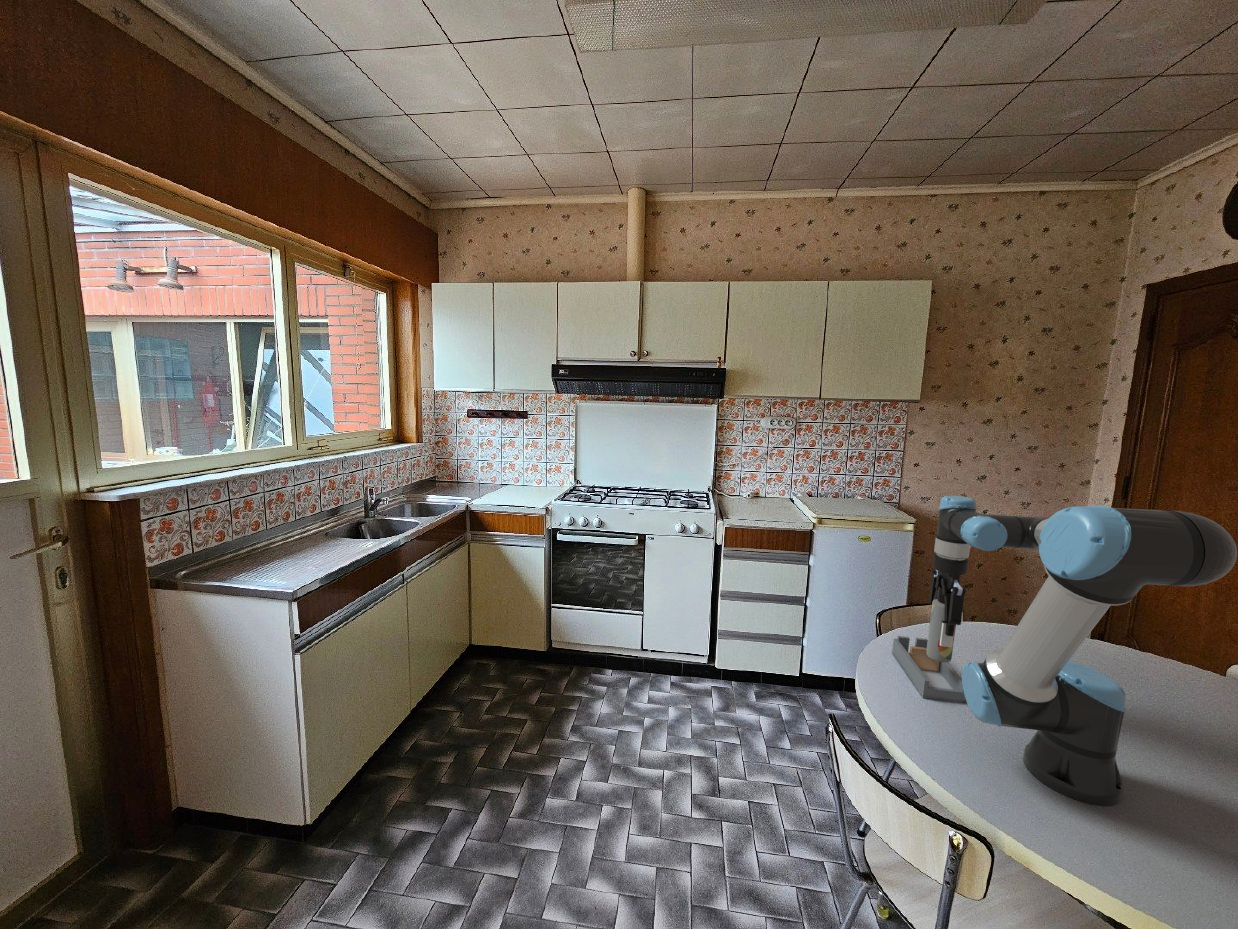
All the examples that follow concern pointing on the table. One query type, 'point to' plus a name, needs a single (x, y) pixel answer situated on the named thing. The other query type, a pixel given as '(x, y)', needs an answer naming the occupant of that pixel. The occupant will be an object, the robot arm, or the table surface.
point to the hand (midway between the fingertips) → (940, 640)
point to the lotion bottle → (938, 631)
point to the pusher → (923, 659)
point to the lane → (929, 674)
